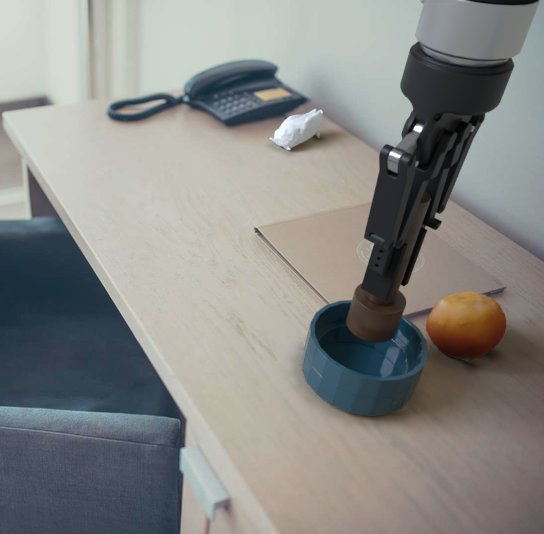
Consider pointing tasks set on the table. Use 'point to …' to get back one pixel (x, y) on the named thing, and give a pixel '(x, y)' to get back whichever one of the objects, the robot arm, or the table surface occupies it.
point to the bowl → (362, 363)
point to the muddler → (386, 315)
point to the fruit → (466, 325)
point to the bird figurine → (298, 129)
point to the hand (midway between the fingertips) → (384, 285)
